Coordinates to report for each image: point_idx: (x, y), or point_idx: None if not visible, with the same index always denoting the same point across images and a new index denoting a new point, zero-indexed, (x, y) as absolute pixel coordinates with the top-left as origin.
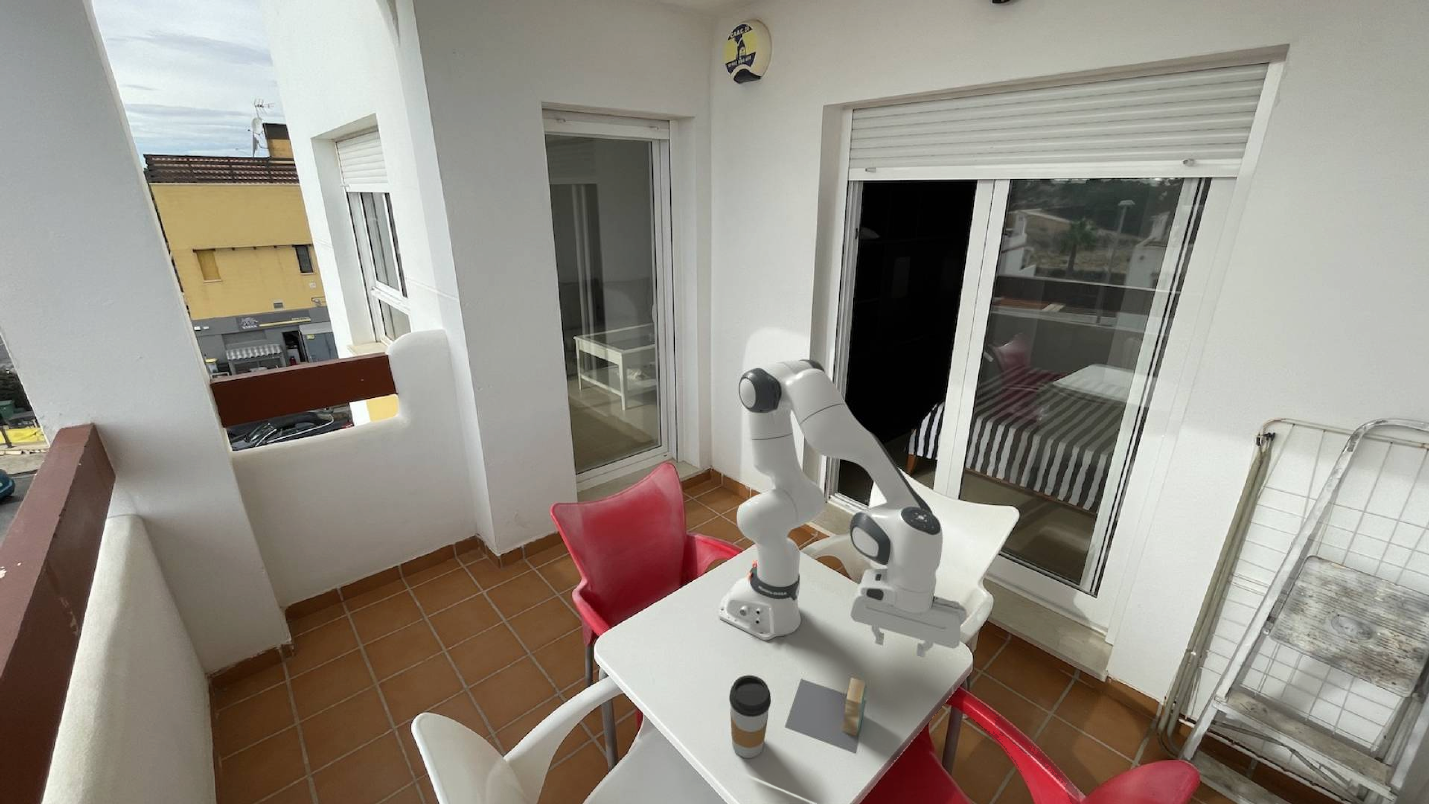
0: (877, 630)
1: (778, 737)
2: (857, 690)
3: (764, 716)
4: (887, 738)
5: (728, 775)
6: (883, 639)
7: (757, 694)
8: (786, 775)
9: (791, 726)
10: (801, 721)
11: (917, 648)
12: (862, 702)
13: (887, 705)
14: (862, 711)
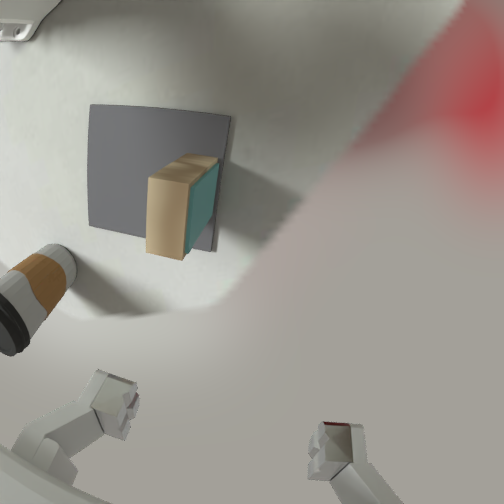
0: (74, 468)
1: (88, 241)
2: (168, 220)
3: (35, 329)
4: (276, 201)
5: (62, 302)
6: (128, 419)
7: (3, 336)
8: (117, 296)
9: (97, 222)
10: (109, 207)
11: (313, 464)
12: (187, 247)
13: (284, 113)
14: (215, 173)
